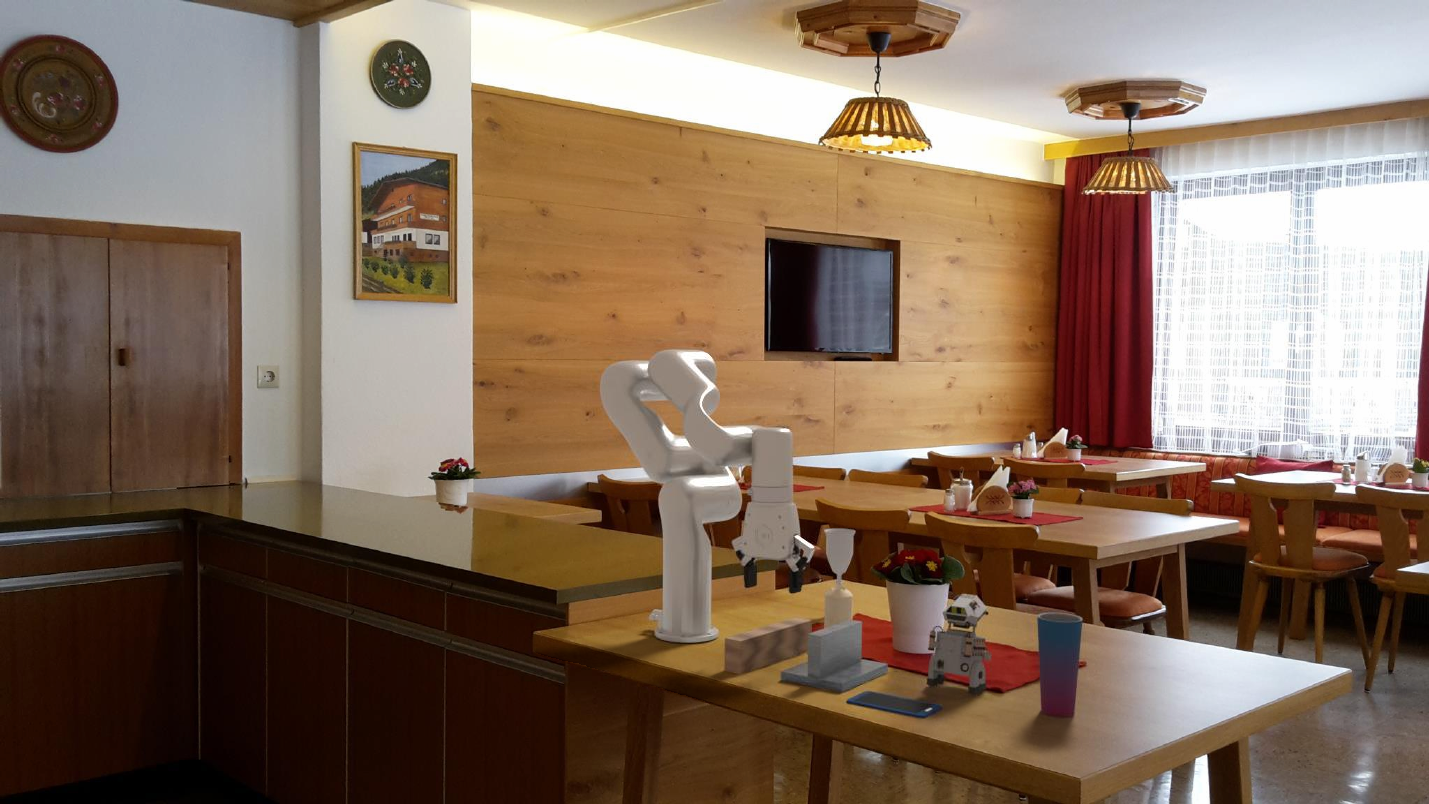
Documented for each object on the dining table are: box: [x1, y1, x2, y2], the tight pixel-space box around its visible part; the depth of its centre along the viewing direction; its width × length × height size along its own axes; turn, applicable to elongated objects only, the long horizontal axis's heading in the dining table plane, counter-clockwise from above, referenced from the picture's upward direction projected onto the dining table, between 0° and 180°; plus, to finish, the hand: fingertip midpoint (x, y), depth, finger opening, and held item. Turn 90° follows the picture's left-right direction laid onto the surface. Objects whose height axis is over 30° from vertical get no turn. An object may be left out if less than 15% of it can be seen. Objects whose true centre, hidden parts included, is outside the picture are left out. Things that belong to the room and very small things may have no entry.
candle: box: [823, 585, 854, 629], centre depth 231 cm, size 6×6×10 cm
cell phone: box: [846, 690, 943, 719], centre depth 186 cm, size 7×14×1 cm, turn 54°
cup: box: [1036, 612, 1083, 718], centre depth 183 cm, size 7×7×15 cm
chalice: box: [823, 528, 857, 587], centre depth 252 cm, size 7×7×18 cm
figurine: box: [926, 593, 993, 697], centre depth 197 cm, size 9×12×15 cm
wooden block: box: [724, 617, 813, 675], centre depth 213 cm, size 22×4×6 cm, turn 141°
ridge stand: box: [780, 619, 889, 694], centre depth 202 cm, size 12×16×8 cm
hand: (772, 589), depth 212 cm, fingers open, 9 cm apart
